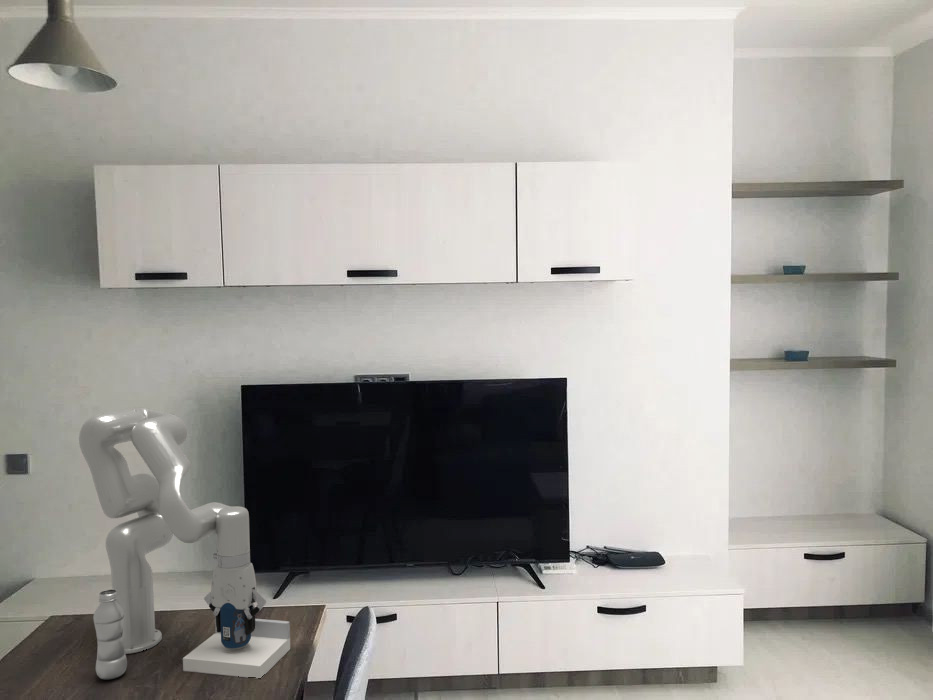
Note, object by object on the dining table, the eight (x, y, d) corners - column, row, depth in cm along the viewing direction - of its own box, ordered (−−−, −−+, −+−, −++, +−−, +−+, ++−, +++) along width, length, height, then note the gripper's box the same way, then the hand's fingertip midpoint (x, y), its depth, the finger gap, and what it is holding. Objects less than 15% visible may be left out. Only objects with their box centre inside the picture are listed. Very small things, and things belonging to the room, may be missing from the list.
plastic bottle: (115, 684, 164) (111, 598, 163) (89, 682, 165) (85, 596, 164) (133, 670, 170) (130, 587, 169) (108, 668, 171) (105, 586, 170)
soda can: (234, 635, 179) (233, 588, 178) (257, 640, 176) (255, 592, 176) (215, 648, 172) (213, 598, 172) (238, 652, 170) (236, 602, 169)
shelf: (183, 670, 170) (182, 641, 169) (218, 642, 184) (217, 615, 184) (260, 678, 165) (259, 649, 165) (290, 648, 180) (289, 621, 180)
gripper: (192, 562, 172) (194, 634, 172) (258, 567, 168) (260, 641, 168) (210, 551, 179) (212, 621, 180) (274, 556, 175) (276, 628, 176)
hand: (235, 630), depth 174 cm, fingers closed on soda can, 7 cm apart
